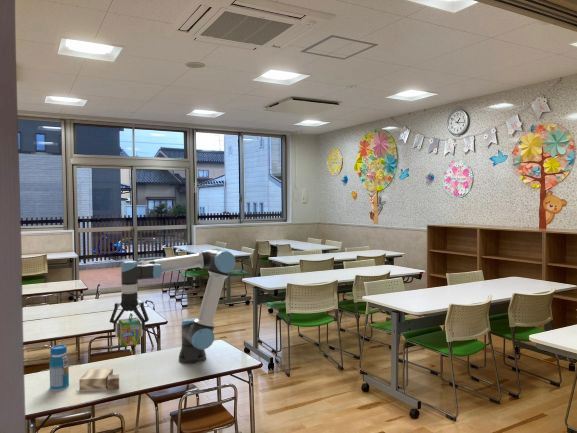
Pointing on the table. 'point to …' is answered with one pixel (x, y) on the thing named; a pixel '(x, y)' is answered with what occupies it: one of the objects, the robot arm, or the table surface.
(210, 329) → the robot arm
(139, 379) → the table surface
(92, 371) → the base block
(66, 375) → the beverage bottle
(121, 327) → the green juice carton
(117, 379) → the walnut cube
